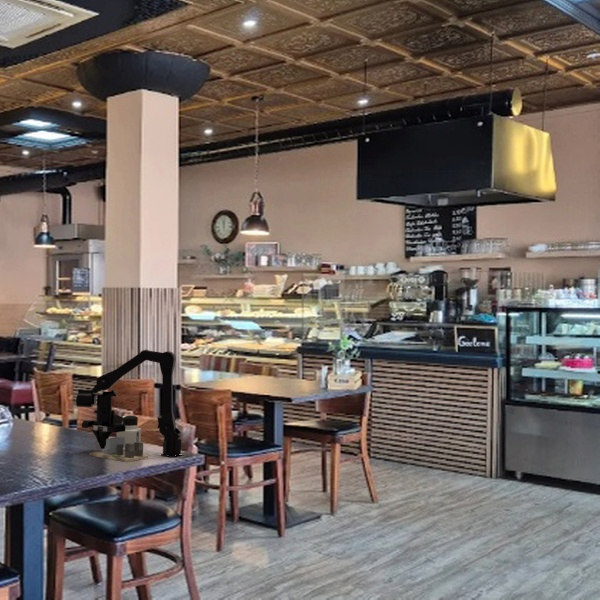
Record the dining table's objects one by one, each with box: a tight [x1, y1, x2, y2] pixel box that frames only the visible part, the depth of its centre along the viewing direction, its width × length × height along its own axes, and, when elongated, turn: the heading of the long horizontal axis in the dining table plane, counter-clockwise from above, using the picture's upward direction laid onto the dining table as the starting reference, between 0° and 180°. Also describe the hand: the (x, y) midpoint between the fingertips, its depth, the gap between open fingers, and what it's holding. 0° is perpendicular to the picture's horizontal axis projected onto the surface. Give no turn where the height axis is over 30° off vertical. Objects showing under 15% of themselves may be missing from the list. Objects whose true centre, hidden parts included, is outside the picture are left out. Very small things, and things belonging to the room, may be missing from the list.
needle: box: [117, 444, 123, 456], centre depth 292 cm, size 2×2×4 cm
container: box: [116, 414, 142, 448], centre depth 319 cm, size 8×8×13 cm
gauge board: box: [89, 442, 149, 463], centre depth 299 cm, size 20×11×6 cm, turn 55°
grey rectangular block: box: [101, 437, 125, 454], centre depth 298 cm, size 8×9×6 cm
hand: (102, 448), depth 304 cm, fingers closed
